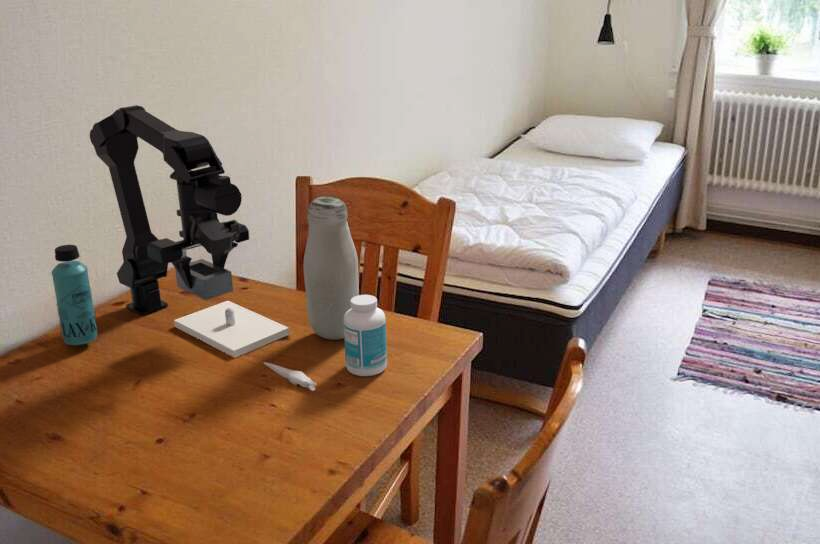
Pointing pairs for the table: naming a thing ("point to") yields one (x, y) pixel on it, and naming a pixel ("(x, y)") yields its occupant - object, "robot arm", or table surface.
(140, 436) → the table surface
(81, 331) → the beverage bottle
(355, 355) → the pill bottle
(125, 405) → the table surface
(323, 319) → the glass bottle
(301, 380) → the white elongated figurine
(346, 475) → the table surface
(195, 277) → the steel link
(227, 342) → the keeper board
